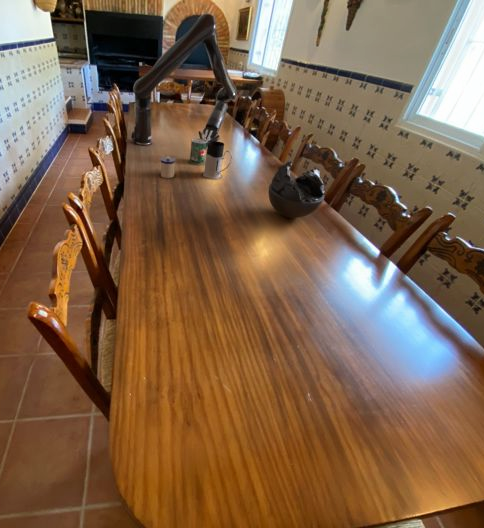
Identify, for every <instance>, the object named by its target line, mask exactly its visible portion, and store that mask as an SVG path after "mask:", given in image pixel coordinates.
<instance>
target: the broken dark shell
mask: <svg viewBox="0 0 484 528" xmlns="http://www.w3.org/2000/svg"><path fill="white" fill-rule="evenodd" d="M292 165H293V161H287V162H285V164H282V165H280V166H278V167H277V171H276V173H275V174H274V175H273V177H272V179H271V183H270V184H269V186H268V193H267V194H268V199H269V203H270V205H271V206H272V208H273V209H274V211H276V212H277V213H278V214H280V216H284V217H286V218H290V219H298V218H303V217H306V216H309V215H310V214H312V213H314V212H315V211H316V210H317V209H318V208H319V207H320V206H321V205H322V203H323V202H324V199H325V189H324V188H325V186H324V182H323V179H322V178H321V177H320V175H321V171H320V169H318V168H313V169H310V170H307V171H305V172H302V173H301V175H299V176H297V177H295V178H293V177H292V176H291V172H290V168H291V167H292Z"/></svg>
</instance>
